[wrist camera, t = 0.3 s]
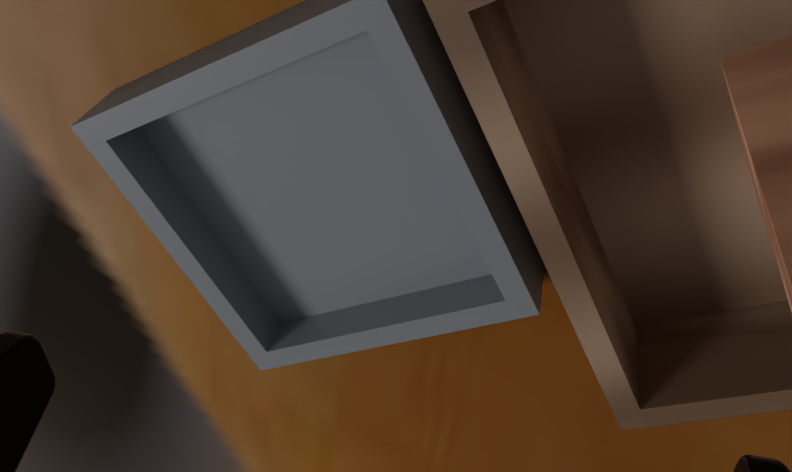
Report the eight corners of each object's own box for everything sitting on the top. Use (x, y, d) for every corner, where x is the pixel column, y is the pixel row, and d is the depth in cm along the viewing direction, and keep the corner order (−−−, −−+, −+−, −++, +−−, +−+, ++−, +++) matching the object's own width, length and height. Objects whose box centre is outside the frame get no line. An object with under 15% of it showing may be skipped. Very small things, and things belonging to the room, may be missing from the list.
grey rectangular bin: (544, 263, 24) (539, 314, 22) (283, 323, 29) (260, 370, 27) (402, -45, 19) (380, -13, 17) (113, 90, 24) (70, 126, 22)
